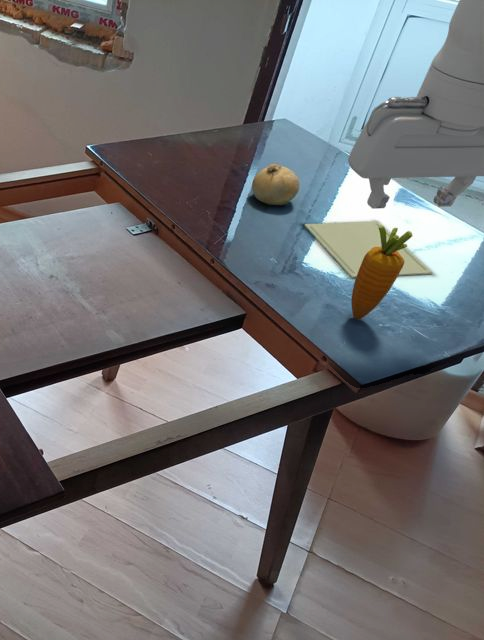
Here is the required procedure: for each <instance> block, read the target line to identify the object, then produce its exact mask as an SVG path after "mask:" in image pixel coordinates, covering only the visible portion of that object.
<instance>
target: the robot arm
mask: <svg viewBox="0 0 484 640" xmlns="http://www.w3.org/2000/svg"><path fill="white" fill-rule="evenodd" d="M347 162H348V165H349V167H350V169H351V170H353V172H354V173H356V174H357V175H358V176H359V177H360V178H362V179H368V182H369V188H370V193H369V196H368V198H367V201H366V202H367V205H368V206H369V207H370V209H374V210H377V209H385V208H386V206H387V203H388V202H389V200H390V198H391V197H390V195H388V194H387V193H386V192H385V188H384V187H385V186H388V185H389V184H390V182H391V179H411V178H412V179H413V178H415V179H416V178H417V179H418V178H452V179H451V180H450V182H449V183H448V184H447V185H446V186H445V187H444V188H438V189H437V191H436V195H434V197H433V203H434V204H435V205H437V207H439V208H442V207H444V208H447V207H452V206H453V205H454V203H455V201H456V199H457V197H458V196H460V194H462V193H463V192H465V190H467V189H468V188H469V187H470V186H471V185H473V184H474V182H475V180H476V178H477V177H484V0H458V2H457V4H456V7H455V8H454V12H453V14H452V15H451V17H450V21H449V25H448V31H447V36H446V38H445V41H444V43H443V45H442V47H441V48H440V49H439V51H437V53H436V54H435V56H434V57H433V59H432V61H431V63H430V66H429V68H428V70H427V72H426V74H425V76H424V78H423V81H422V83H421V86H420V88H419V90H418V93H417V95H416V96H411V97H401V96H393V97H389V98H388V99H387V100H386V101H383V102H381V103H380V104H378V105H377V106H374V108H373V109H372V110H371V113H370V115H369V118H368V120H367V122H366V123H365V125H364V126H363V128H362V130H361V131H360V133H359V135H358V137H357V139H356V141H355V142H354V144H353V146H352V149H351V150H350V153H349V154H348V157H347Z"/></svg>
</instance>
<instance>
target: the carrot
mask: <svg viewBox="0 0 484 640" xmlns="http://www.w3.org/2000/svg"><path fill="white" fill-rule="evenodd" d="M378 228H379V231H380V237H381V245H382V247H373V248H372V249H371V250H370V251H369V252H367V254H366V255H365V256H364V259H363V261H362V263H361V266H360V268H359V271H358V274H357V276H356V278H354V283H353V288H352V292H351V301H350V302H351V303H350V304H351V311H352V312H351V313H352V316H353V318H354V319H355V321H356V320H362V319H363V318H364V317H366V316H367V315H369V314H370V313H371V312H372V311H373V310H374V309H376V307H377V306H378V305H379V304H380V303H381V302H382V300H383V299H384V298H385V297H386V295H387V294H388V293H389V292H390V290H391V289H392V287H393V286H394V284H395V282H396V280H397V279H398V275H399V273H400V271H401V269H402V267H403V265H404V259H403V258H402V256H401V255H400V254H399V253H398V252H397V251H398V250H400V249H403V248H405V247H406V248H407V247H408V244H406V242H408V241H409V240H410V239H411V238H413V232H412V231H410V230H407V231H405V233H403V234H402V235H401V236H399V235H398V234H397V233H398V230H399V228H398V227H393V228H392V230H391V232H390V233H391V234H390V237H389V239H388V241H387V242H386V230H387V229H386V227H385V226H384V225H382V226H380V227H378ZM385 229H386V230H385Z"/></svg>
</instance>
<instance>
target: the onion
mask: <svg viewBox="0 0 484 640" xmlns="http://www.w3.org/2000/svg"><path fill="white" fill-rule="evenodd" d="M300 186H301V185H300V180H299V178H298V176H297V174H296V173H295V172H294V171H293V170H292V169H289V168H288V167H286V166H283V165H280V164H278V163H276V162H274V163H272V164H269V165H268V166H265V167H264V168H262V169H261V170H260V171H258V173H257V174H256V175H255V176H254V177H253V179H252V183H251V189H252V193H253V195H254V197H255V198H256V200H258V201H259V202H261V203H264V204H266V205H270V206H271V205H272V206H273V205H274V206H286V205H288V204H289V203H290V202H291V201H292V200H294V198H295V197H296V196H297V194H298V193H299V190H300Z"/></svg>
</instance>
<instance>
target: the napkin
mask: <svg viewBox="0 0 484 640" xmlns="http://www.w3.org/2000/svg"><path fill="white" fill-rule="evenodd" d="M380 226H383V225H382V224H381V223H380V222H379V221H378V220H377V221H376V220H375V221H351V222H350V221H349V222H348V221H347V222H326V223H325V222H322V223H304V227H305V228H306V230H307V231H309V233H310V234H311V235H312V236H313V237H314V238H315V239H316V241H318V243H319V244H320V245H321V246H322V247H323V248H324V249H325V250H326V251H327V252H328V253H329V255H330V256H331V257H332V258H333V260H335V261H336V263H338V264H339V266H340V267H341V268H342V269H343V270H344V271H345V273H347V275H348V276H349V277H350V278H351V279H356V276H357V274H358V271H359V268H360V266H361V263H362V261H363V259H364V256H365V255H366V254H367V252H369V251H370V250H371V249H372V248H373V247H382V245H381V237H380V231H379V228H378V227H380ZM385 230H386V242H387V241H388V239H389V237H390V234H391V232H390V231H389V230H387V228H385ZM397 252H398V253H399V254H400V255H401V256H402V258H403V259H404V265H403V267H402V269H401V271H400V273H399V275H398V276H415V275H416V276H419V275H432V274H433V271H431V269H430V268H428V267H427V266H426V264H424V263H423V262H422V261H421V260H420V259H419V258H417V256H416V255H414V253H412V252H411V251H410V250H409V248H407V247H405V248H403V249H400V250H398V251H397Z"/></svg>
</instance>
